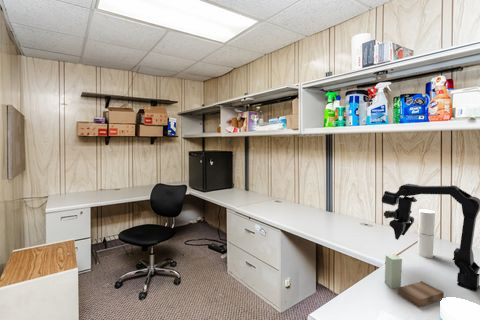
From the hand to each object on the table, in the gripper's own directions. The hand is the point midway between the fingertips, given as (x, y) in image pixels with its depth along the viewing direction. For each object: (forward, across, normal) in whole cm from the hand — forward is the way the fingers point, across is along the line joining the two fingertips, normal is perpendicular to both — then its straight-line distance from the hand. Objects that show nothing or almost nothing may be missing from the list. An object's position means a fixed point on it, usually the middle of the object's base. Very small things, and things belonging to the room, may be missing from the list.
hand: (399, 237), depth 135 cm
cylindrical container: (+13, -23, +8) cm, 27 cm away
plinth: (+14, +25, +17) cm, 33 cm away
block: (+15, +23, +6) cm, 28 cm away
